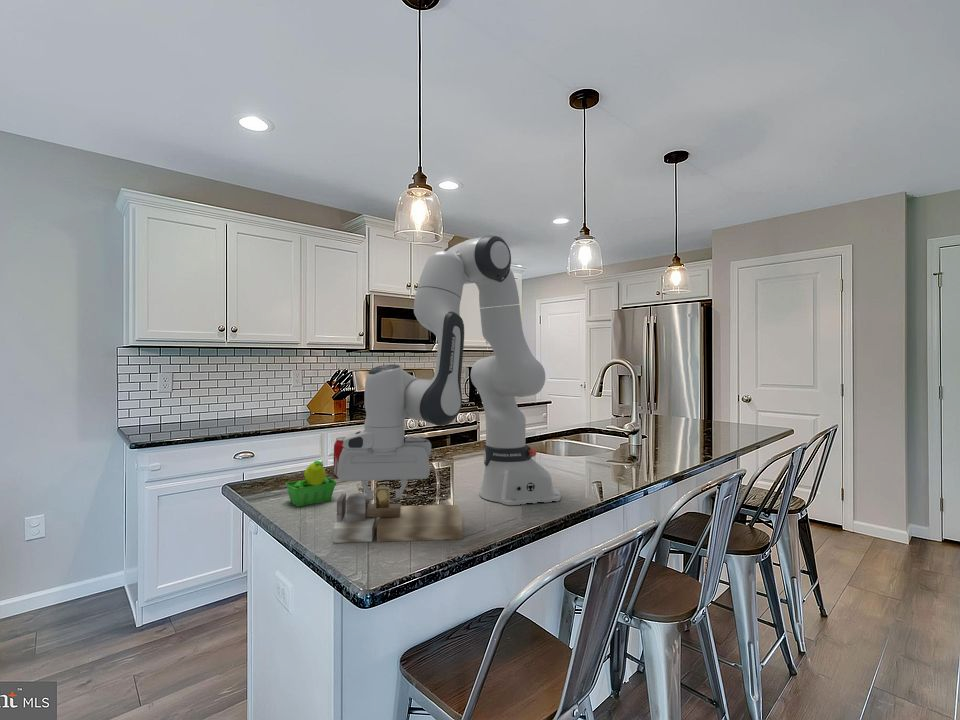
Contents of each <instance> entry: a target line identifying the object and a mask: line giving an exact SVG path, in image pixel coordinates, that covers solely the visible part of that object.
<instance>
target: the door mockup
mask: <svg viewBox="0 0 960 720" xmlns="http://www.w3.org/2000/svg"><path fill="white" fill-rule="evenodd" d="M349 493H350V494H349V495H348V496H347V493H346V492H342V493H340V495H339V496H338V498H337V500H336V522H335V524H334V526H333V528H332V543H334V544H335V543H336V544H337V543H338V544H339V543H340V544H341V543H343V544H344V543H372V542H373V540H374V536H375V533H376V542H404V541H405V542H409V541H441V540H442V541H443V540H444V539H449V540H463V522H462V521H463V520H462V515H461V510H460V505H459V504H435V505H429V504H428V505H401V515H400V517H366V504H369V500H366V492H349Z"/></svg>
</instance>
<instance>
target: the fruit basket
mask: <svg viewBox="0 0 960 720" xmlns="http://www.w3.org/2000/svg"><path fill="white" fill-rule="evenodd" d="M303 476H304V479H301V480H294V481H289V482H285V486H286V489H287V492H288V493H287V494H288V497H289V500H290V502H291V503H292V504H293V505H295V506H297V507H302V506H307V505H314V504H319V503H323V502H330V501H331V500H332V497H333V493H334V490H335V487H336V486H337V485H336V484H337V481H336V480H334V479H332V478H330V477H328V476H326V470H325V468H324V463H323V462H322V461H320V460H314V462H312V463H311V464H309V465H308V466H307V468H305V470H304V472H303ZM329 500H330V501H329Z"/></svg>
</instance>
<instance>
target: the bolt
mask: <svg viewBox="0 0 960 720" xmlns="http://www.w3.org/2000/svg"><path fill="white" fill-rule="evenodd" d="M390 490H391V489H390V486H386V485H385V486H383V485H381V486H377V487H376V488H375V503H368V504H366V517H379V518H380V517H400V515H401V506H402V503H390Z"/></svg>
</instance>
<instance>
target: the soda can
mask: <svg viewBox="0 0 960 720" xmlns="http://www.w3.org/2000/svg"><path fill="white" fill-rule="evenodd" d="M346 437H347V436H341V437H336V438H335V442H334V444H333V474H334V475H335V476H336V477H337V478H338V475H337V473H338V462H339V457H340V454H341V452H342V451H343V450H344V446H343V441H344V439H345V438H346Z"/></svg>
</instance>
